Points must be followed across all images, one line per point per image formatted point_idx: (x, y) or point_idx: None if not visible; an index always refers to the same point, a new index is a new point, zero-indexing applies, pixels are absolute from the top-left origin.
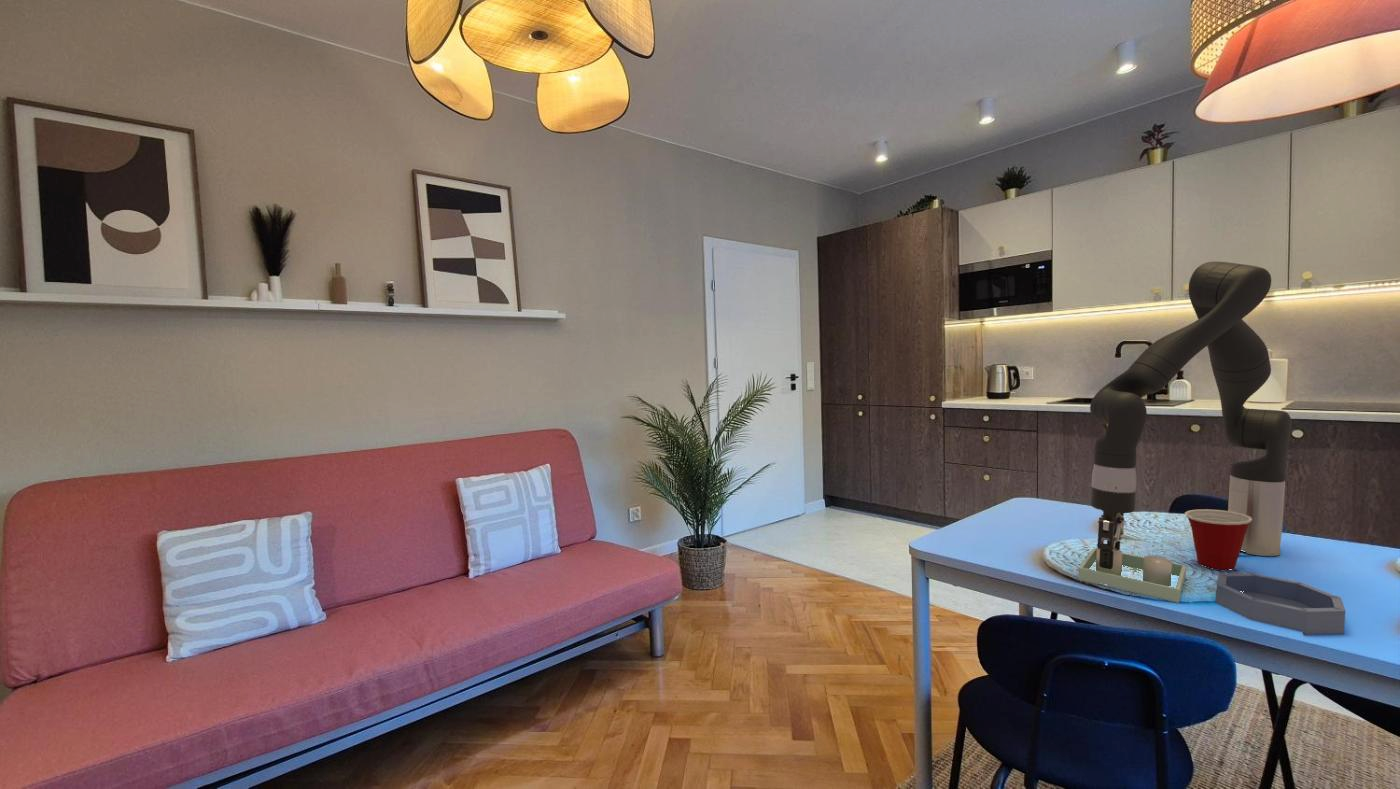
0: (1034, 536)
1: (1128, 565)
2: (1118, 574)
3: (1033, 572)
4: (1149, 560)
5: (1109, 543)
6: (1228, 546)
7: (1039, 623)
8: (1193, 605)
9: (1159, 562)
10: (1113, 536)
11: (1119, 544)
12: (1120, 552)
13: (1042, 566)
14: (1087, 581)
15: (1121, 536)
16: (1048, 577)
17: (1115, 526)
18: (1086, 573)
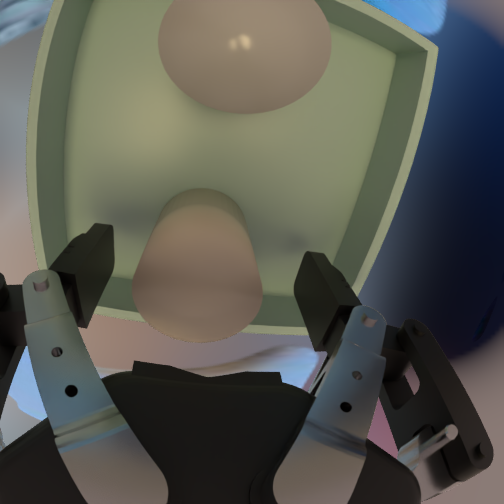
0: (25, 369)
1: (61, 169)
2: (231, 203)
3: (289, 374)
4: (300, 89)
5: (90, 303)
6: None
7: (486, 312)
8: (377, 7)
9: (314, 38)
10: (440, 385)
11: (83, 263)
12: (203, 249)
13: (230, 369)
14: None
15: (26, 281)
16: (311, 351)
17: (380, 459)
18: None
